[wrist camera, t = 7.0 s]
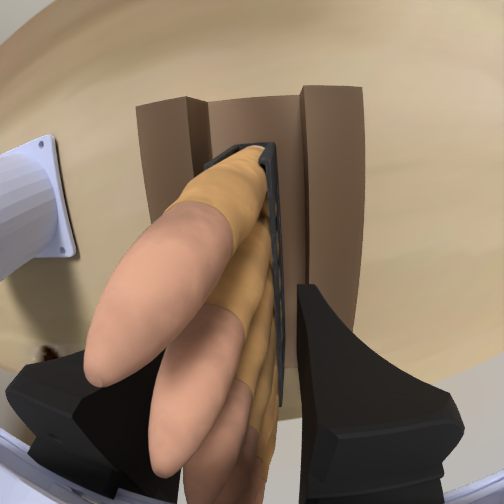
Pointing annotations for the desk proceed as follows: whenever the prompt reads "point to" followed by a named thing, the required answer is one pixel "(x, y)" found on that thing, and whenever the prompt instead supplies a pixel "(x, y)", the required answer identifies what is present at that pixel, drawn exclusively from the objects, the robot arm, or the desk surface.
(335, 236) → the walnut rack
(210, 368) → the ammunition clip
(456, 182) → the desk surface
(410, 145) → the desk surface
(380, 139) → the desk surface
